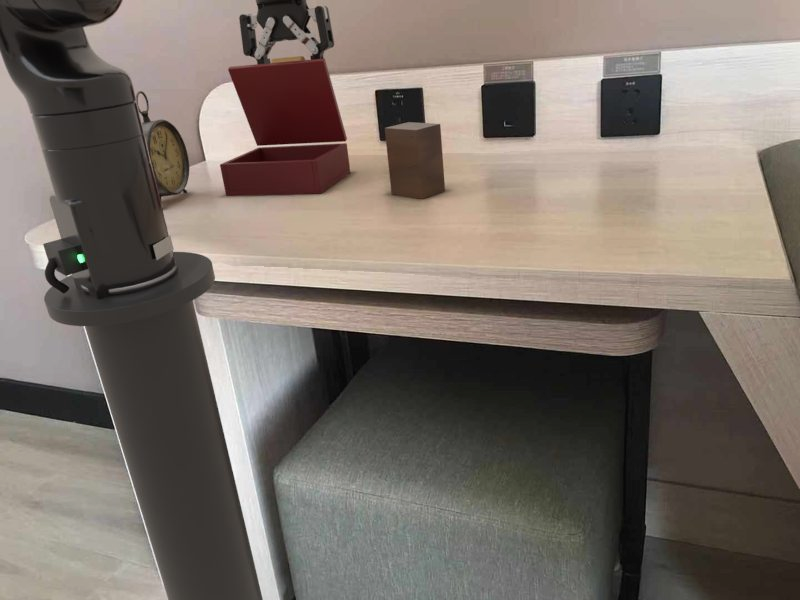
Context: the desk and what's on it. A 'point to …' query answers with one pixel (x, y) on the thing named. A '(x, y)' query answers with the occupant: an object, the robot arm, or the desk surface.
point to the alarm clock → (166, 154)
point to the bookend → (415, 159)
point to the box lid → (289, 101)
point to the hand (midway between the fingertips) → (293, 82)
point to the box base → (286, 170)
